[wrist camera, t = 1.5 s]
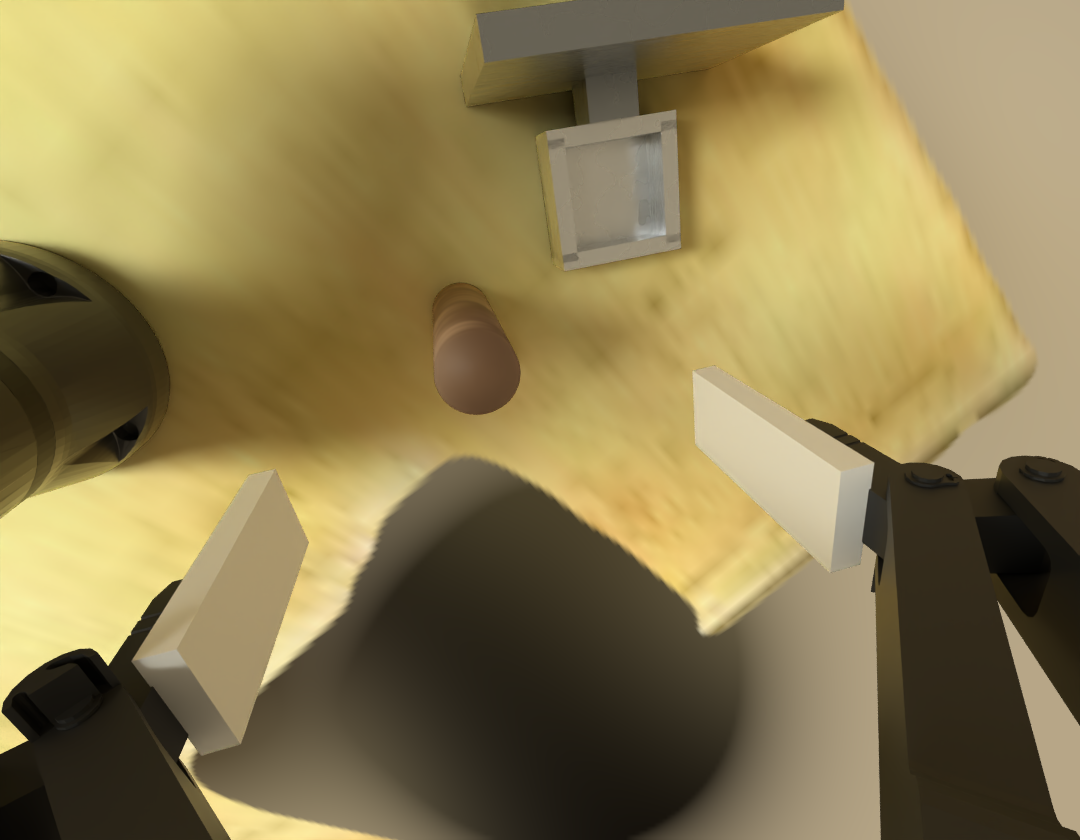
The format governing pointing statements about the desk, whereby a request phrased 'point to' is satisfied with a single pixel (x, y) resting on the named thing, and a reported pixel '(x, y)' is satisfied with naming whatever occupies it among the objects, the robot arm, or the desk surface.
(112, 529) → the desk surface
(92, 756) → the robot arm
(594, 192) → the bracket
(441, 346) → the handle
